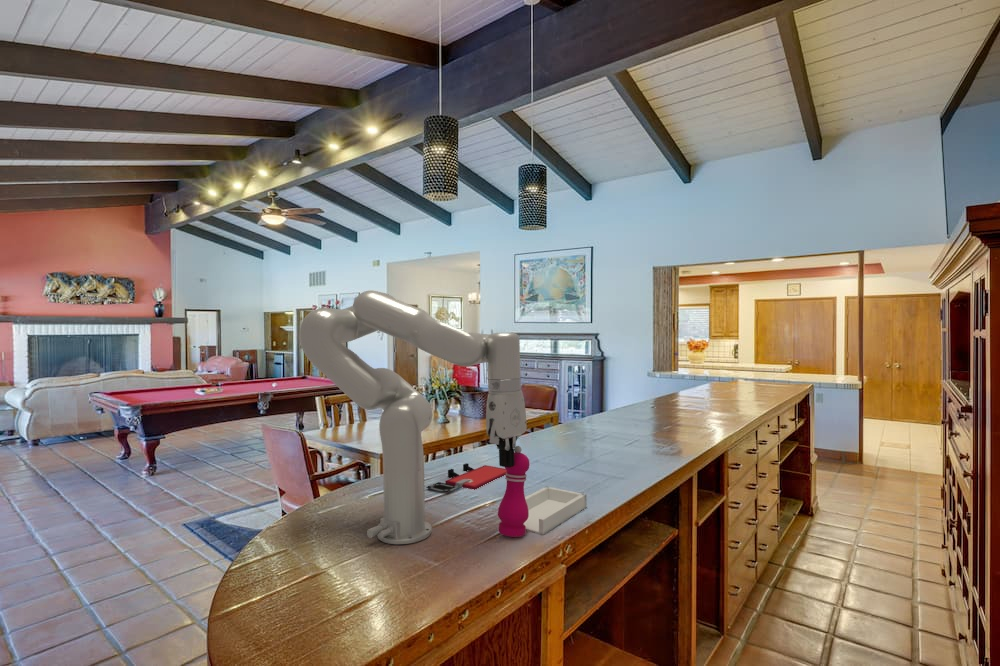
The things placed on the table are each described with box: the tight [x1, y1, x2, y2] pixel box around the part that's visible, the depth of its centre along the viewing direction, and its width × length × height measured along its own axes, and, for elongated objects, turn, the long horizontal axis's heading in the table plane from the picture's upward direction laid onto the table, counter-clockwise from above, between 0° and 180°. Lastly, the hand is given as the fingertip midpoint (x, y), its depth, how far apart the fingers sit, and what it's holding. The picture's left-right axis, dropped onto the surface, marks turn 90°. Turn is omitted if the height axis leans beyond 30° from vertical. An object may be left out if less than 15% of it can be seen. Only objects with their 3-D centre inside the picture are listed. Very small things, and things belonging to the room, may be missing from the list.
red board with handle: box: [425, 462, 507, 493], centre depth 160 cm, size 30×3×15 cm
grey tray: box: [524, 486, 588, 536], centre depth 128 cm, size 22×12×4 cm, turn 143°
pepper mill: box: [497, 445, 530, 538], centre depth 117 cm, size 7×7×20 cm
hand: (507, 466), depth 114 cm, fingers closed
